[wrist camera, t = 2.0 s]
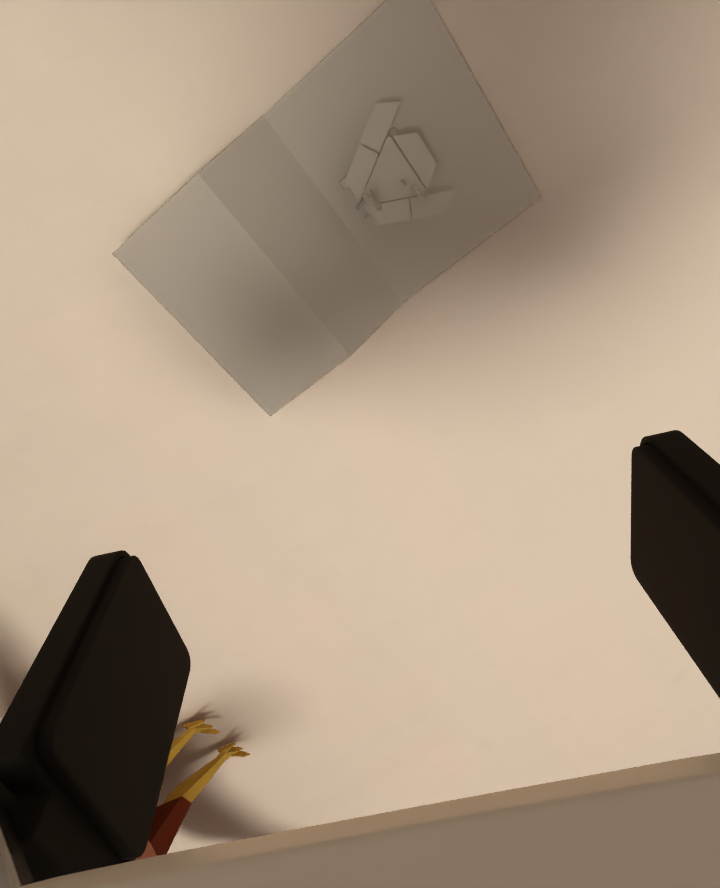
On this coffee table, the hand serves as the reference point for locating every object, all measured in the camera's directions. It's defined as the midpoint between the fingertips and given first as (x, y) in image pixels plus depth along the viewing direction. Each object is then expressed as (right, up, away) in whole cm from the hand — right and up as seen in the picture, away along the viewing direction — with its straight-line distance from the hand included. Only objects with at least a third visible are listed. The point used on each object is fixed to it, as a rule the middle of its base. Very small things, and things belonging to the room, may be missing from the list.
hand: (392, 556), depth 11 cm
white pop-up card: (-2, +10, +9) cm, 13 cm away
